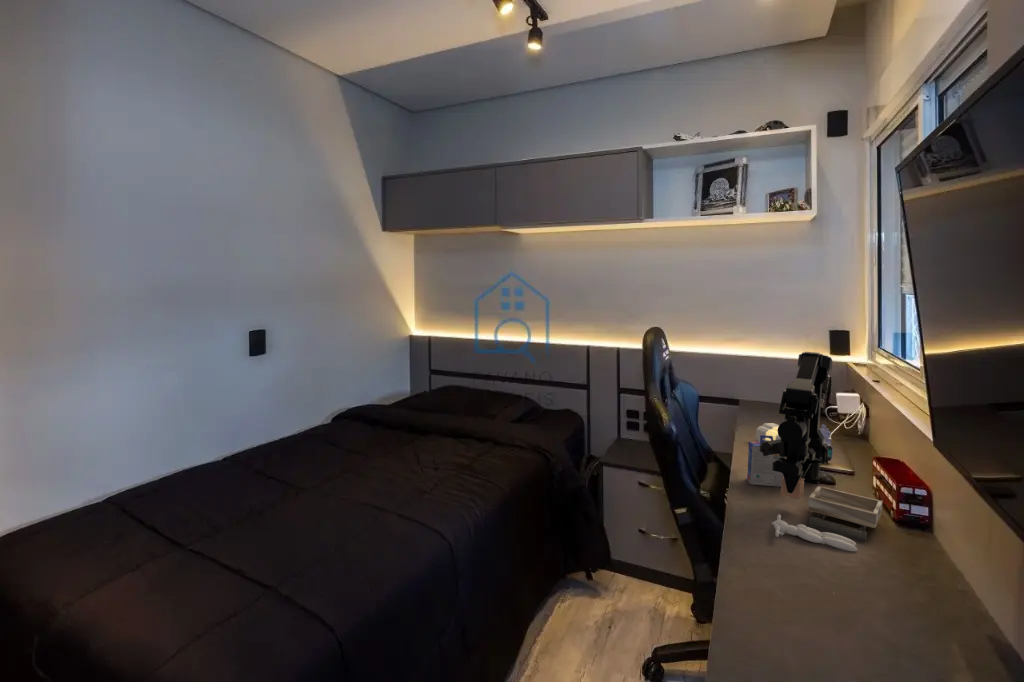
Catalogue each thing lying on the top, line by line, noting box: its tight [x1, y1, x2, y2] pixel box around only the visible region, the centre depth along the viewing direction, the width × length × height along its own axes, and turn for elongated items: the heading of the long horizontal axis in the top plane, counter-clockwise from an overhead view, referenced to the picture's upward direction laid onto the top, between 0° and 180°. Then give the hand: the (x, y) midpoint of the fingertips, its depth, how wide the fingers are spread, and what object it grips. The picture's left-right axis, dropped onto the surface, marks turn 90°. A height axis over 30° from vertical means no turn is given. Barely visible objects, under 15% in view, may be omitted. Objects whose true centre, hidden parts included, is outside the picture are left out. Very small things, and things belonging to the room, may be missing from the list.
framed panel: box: [808, 515, 868, 542], centre depth 140 cm, size 28×12×2 cm, turn 138°
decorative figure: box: [771, 514, 859, 552], centre depth 127 cm, size 4×12×18 cm
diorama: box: [755, 422, 835, 462], centre depth 189 cm, size 25×10×13 cm, turn 15°
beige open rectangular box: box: [807, 485, 884, 529], centre depth 137 cm, size 11×15×5 cm
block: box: [780, 477, 805, 500], centre depth 142 cm, size 4×4×4 cm
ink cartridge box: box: [746, 435, 786, 488], centre depth 161 cm, size 10×6×14 cm, turn 79°
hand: (792, 490), depth 143 cm, fingers closed on block, 4 cm apart
